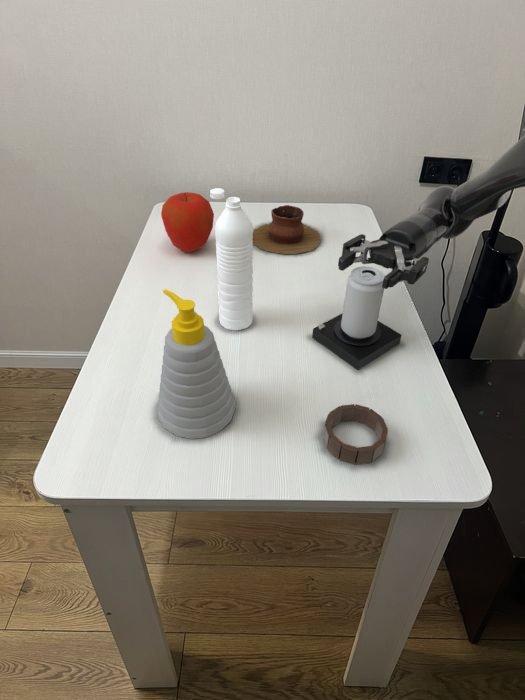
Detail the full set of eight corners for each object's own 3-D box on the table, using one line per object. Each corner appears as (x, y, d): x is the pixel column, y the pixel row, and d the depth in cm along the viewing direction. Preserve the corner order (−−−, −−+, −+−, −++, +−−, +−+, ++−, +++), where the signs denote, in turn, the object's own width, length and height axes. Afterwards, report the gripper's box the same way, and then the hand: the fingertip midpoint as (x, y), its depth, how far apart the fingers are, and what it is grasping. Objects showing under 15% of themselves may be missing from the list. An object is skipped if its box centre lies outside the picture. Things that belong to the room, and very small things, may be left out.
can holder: (396, 443, 73) (400, 430, 72) (355, 474, 69) (358, 461, 67) (351, 409, 79) (354, 395, 77) (311, 436, 74) (313, 423, 72)
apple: (208, 263, 113) (204, 205, 104) (158, 259, 114) (150, 201, 105) (220, 239, 122) (218, 183, 113) (174, 234, 124) (168, 179, 114)
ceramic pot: (261, 218, 132) (262, 192, 127) (327, 227, 128) (329, 201, 124) (241, 249, 118) (241, 222, 114) (313, 260, 115) (316, 232, 110)
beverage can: (379, 325, 92) (390, 269, 84) (369, 344, 87) (381, 288, 80) (346, 316, 94) (355, 261, 86) (335, 335, 89) (343, 278, 82)
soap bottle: (204, 371, 85) (195, 269, 72) (251, 411, 78) (251, 306, 65) (142, 406, 78) (120, 301, 65) (188, 453, 71) (173, 346, 58)
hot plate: (399, 344, 92) (402, 331, 90) (357, 370, 86) (360, 357, 84) (353, 315, 98) (355, 303, 96) (311, 337, 93) (313, 325, 91)
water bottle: (259, 322, 96) (261, 199, 80) (233, 335, 93) (230, 210, 77) (231, 302, 101) (227, 184, 85) (205, 315, 98) (197, 193, 82)
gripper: (378, 210, 92) (328, 240, 82) (450, 233, 85) (405, 269, 75) (371, 246, 96) (324, 278, 87) (439, 271, 89) (396, 309, 80)
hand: (362, 274), depth 81 cm, fingers open, 8 cm apart
